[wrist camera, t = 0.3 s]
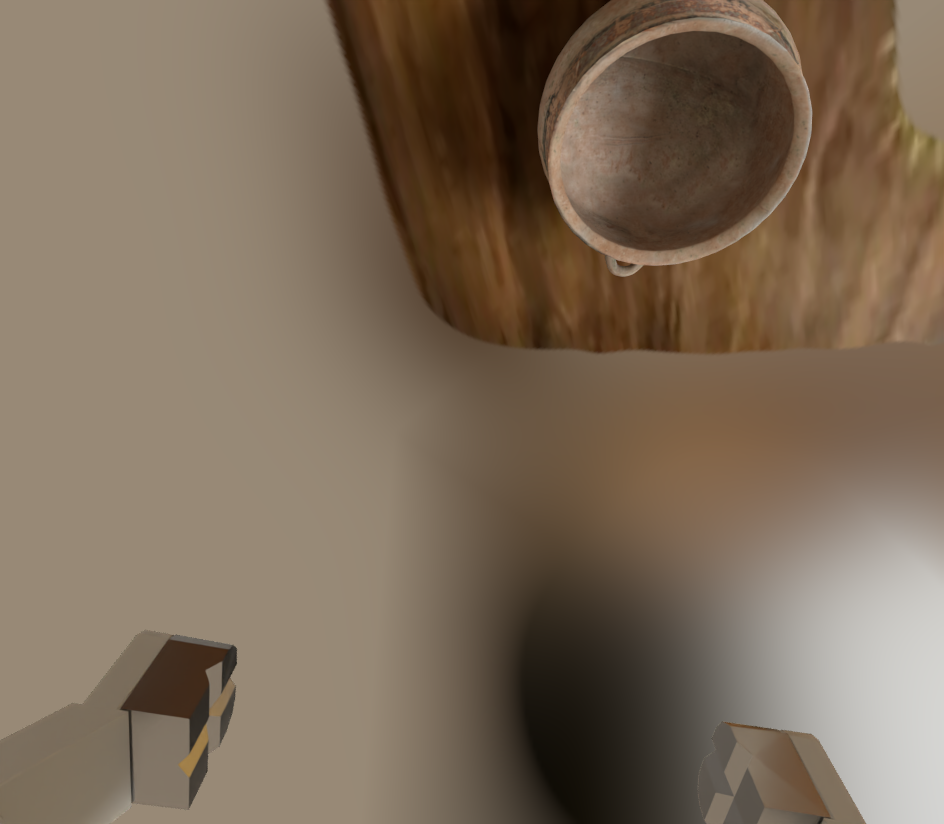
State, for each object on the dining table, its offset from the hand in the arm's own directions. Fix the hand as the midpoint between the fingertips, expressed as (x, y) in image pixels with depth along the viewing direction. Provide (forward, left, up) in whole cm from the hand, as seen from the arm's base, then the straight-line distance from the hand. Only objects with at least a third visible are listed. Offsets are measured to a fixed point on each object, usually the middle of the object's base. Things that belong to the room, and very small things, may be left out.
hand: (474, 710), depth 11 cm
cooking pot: (+13, +6, -53) cm, 55 cm away
